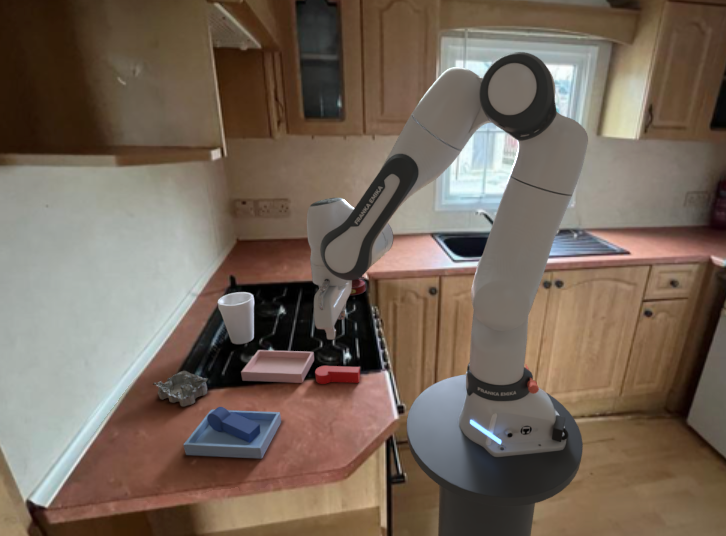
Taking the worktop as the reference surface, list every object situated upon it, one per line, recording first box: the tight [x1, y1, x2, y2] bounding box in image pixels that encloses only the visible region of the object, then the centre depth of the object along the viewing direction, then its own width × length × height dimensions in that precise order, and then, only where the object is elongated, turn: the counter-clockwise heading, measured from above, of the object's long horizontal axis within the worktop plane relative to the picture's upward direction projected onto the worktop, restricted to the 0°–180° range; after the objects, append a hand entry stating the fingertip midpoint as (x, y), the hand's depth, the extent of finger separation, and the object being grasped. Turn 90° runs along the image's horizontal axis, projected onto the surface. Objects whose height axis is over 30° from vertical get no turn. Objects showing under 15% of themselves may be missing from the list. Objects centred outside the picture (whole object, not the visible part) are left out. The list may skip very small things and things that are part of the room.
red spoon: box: [314, 365, 361, 385], centre depth 102 cm, size 11×4×3 cm, turn 86°
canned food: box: [349, 276, 367, 296], centre depth 154 cm, size 11×10×10 cm
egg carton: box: [152, 370, 209, 408], centre depth 96 cm, size 11×8×4 cm
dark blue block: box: [207, 406, 260, 443], centre depth 84 cm, size 11×4×3 cm
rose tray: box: [240, 349, 315, 384], centre depth 106 cm, size 15×10×3 cm
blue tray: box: [183, 408, 282, 460], centre depth 84 cm, size 15×10×3 cm
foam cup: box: [217, 291, 255, 345], centre depth 119 cm, size 10×9×13 cm
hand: (336, 327), depth 95 cm, fingers open, 8 cm apart
